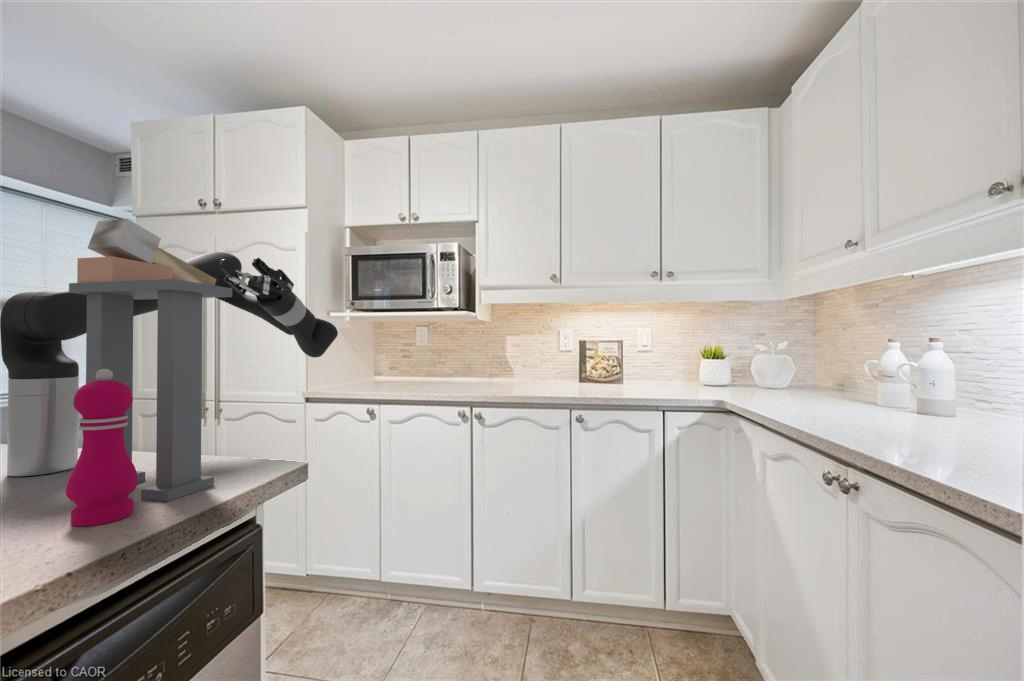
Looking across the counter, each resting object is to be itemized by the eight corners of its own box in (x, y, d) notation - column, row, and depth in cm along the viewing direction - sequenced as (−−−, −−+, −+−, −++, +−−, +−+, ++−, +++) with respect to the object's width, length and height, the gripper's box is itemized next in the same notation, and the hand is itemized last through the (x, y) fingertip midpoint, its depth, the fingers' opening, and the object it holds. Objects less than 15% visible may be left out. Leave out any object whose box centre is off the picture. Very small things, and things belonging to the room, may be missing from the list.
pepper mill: (95, 530, 57) (96, 370, 58) (50, 526, 59) (51, 369, 59) (151, 510, 65) (152, 367, 65) (109, 506, 66) (111, 367, 66)
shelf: (66, 492, 72) (69, 283, 73) (137, 473, 83) (138, 291, 84) (170, 501, 68) (172, 279, 69) (231, 480, 79) (232, 288, 79)
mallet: (87, 248, 74) (97, 221, 76) (192, 298, 93) (199, 275, 94) (116, 246, 73) (127, 218, 74) (217, 297, 91) (224, 274, 93)
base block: (77, 283, 73) (77, 258, 73) (140, 290, 83) (140, 268, 83) (112, 282, 72) (112, 256, 72) (172, 289, 81) (172, 267, 81)
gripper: (263, 292, 117) (217, 249, 103) (313, 291, 114) (272, 246, 100) (252, 317, 113) (202, 276, 100) (303, 316, 110) (259, 273, 97)
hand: (237, 261), depth 100 cm, fingers open, 8 cm apart
